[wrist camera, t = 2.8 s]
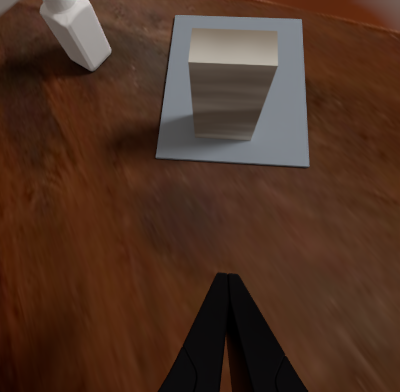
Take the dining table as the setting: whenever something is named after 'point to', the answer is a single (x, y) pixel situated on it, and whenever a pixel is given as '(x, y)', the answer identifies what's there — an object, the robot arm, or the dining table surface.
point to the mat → (271, 112)
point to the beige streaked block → (230, 80)
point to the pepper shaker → (77, 31)
